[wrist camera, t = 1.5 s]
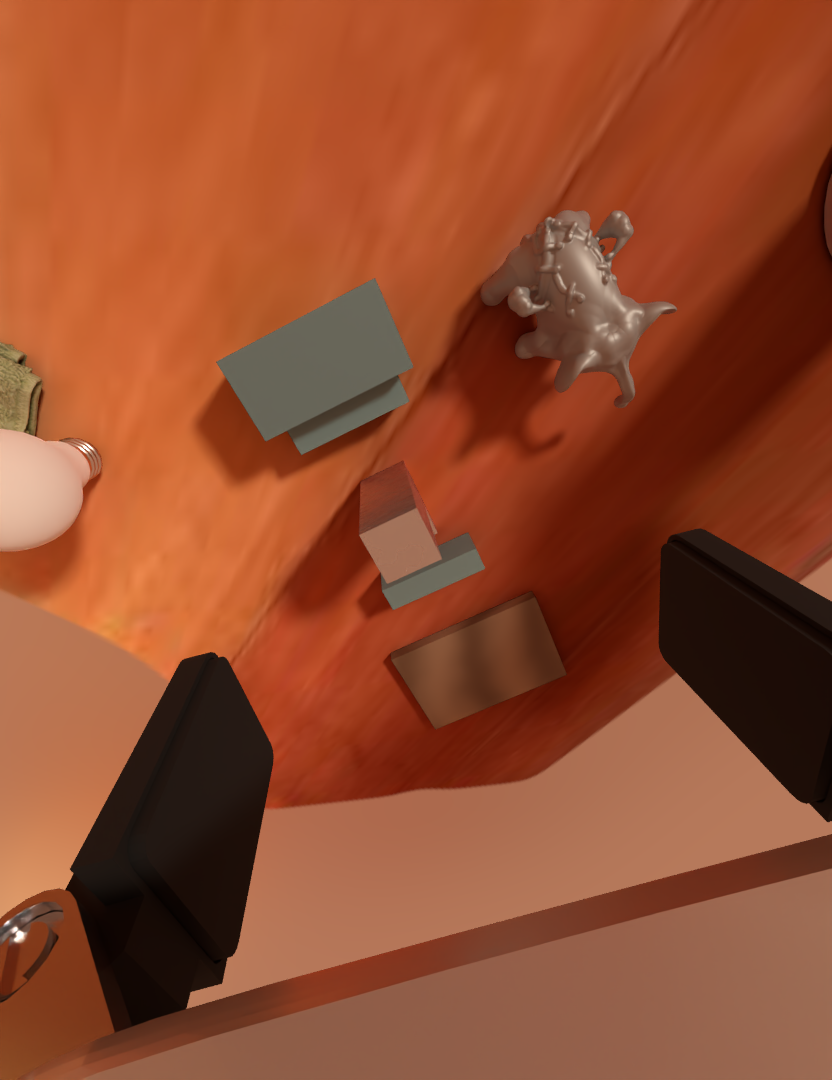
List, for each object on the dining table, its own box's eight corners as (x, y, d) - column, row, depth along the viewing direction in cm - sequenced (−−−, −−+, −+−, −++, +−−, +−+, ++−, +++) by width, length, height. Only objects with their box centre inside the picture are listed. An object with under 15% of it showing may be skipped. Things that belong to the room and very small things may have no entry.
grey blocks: (373, 285, 29) (374, 278, 24) (487, 546, 38) (503, 576, 33) (238, 356, 30) (216, 361, 25) (380, 595, 39) (382, 630, 34)
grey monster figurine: (545, 188, 28) (596, 137, 21) (673, 312, 31) (754, 304, 24) (455, 323, 31) (474, 317, 24) (581, 424, 34) (630, 445, 27)
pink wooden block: (403, 460, 34) (416, 508, 25) (434, 525, 37) (457, 589, 28) (360, 481, 34) (358, 535, 25) (395, 544, 37) (404, 613, 28)
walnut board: (531, 591, 40) (535, 597, 39) (562, 667, 44) (566, 674, 44) (390, 652, 42) (391, 660, 41) (434, 721, 46) (435, 729, 45)
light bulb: (82, 515, 33) (-37, 594, 23) (9, 435, 31) (-162, 486, 21) (157, 474, 33) (67, 538, 23) (89, 388, 30) (-47, 418, 20)
